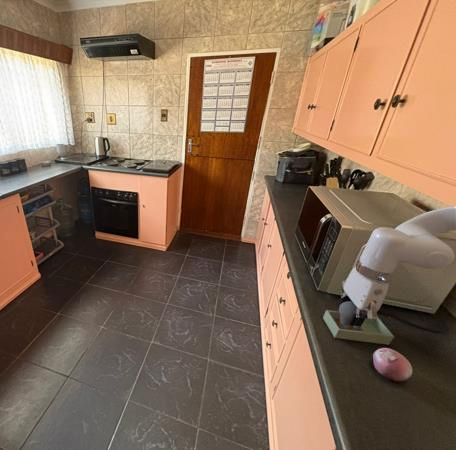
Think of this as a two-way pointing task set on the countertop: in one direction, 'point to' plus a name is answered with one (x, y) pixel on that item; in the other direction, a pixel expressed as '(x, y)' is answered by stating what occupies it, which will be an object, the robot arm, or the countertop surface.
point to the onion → (392, 364)
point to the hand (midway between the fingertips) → (348, 316)
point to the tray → (359, 329)
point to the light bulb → (347, 313)
